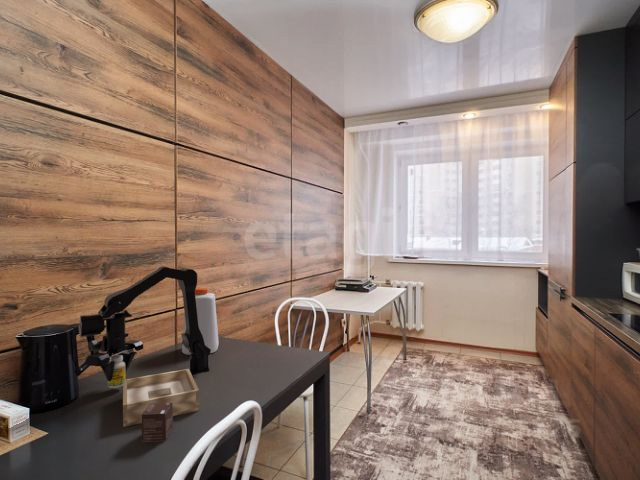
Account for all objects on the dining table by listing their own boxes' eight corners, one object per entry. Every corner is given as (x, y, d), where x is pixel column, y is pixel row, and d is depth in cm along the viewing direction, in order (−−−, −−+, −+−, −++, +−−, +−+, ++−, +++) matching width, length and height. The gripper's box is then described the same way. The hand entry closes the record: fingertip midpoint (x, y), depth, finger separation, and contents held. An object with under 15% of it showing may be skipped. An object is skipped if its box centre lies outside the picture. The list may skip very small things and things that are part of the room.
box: (150, 430, 98) (150, 403, 98) (173, 429, 99) (173, 402, 99) (141, 443, 92) (140, 414, 92) (165, 441, 93) (165, 413, 92)
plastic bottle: (180, 356, 157) (179, 291, 157) (186, 346, 172) (185, 286, 172) (216, 354, 160) (216, 290, 160) (219, 344, 175) (218, 285, 175)
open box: (188, 385, 127) (188, 368, 127) (199, 410, 109) (199, 390, 109) (123, 398, 117) (123, 379, 117) (123, 427, 100) (123, 405, 99)
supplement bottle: (124, 380, 127) (124, 353, 127) (126, 386, 122) (126, 357, 122) (106, 384, 124) (106, 356, 124) (108, 389, 120) (107, 360, 119)
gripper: (119, 323, 134) (120, 365, 134) (71, 337, 116) (72, 386, 117) (144, 325, 131) (144, 368, 131) (98, 340, 113) (99, 390, 113)
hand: (116, 377), depth 123 cm, fingers closed on supplement bottle, 5 cm apart
